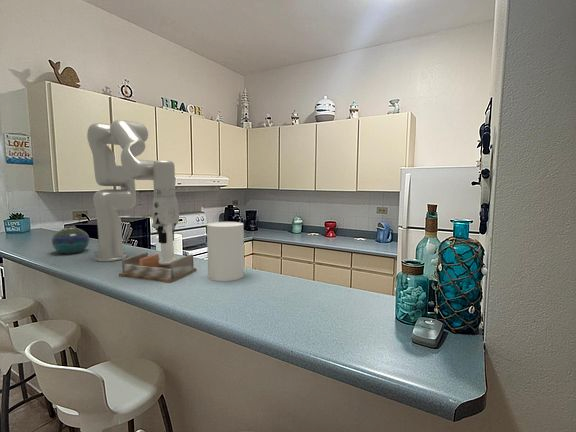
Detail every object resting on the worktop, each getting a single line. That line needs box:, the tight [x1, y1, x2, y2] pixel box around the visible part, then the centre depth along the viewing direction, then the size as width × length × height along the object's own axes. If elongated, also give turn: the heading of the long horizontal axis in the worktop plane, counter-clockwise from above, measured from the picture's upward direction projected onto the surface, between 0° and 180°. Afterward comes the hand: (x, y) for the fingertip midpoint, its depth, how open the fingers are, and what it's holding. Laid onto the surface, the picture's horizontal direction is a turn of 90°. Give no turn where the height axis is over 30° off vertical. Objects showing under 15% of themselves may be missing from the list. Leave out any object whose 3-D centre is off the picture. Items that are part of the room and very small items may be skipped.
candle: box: [158, 223, 178, 265], centre depth 120 cm, size 7×7×25 cm
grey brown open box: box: [118, 252, 197, 283], centre depth 123 cm, size 23×16×7 cm
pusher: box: [139, 253, 160, 267], centre depth 124 cm, size 1×9×5 cm, turn 163°
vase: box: [51, 224, 90, 255], centre depth 156 cm, size 15×15×13 cm
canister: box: [206, 221, 245, 282], centre depth 120 cm, size 14×14×20 cm
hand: (166, 241), depth 121 cm, fingers closed on candle, 3 cm apart
